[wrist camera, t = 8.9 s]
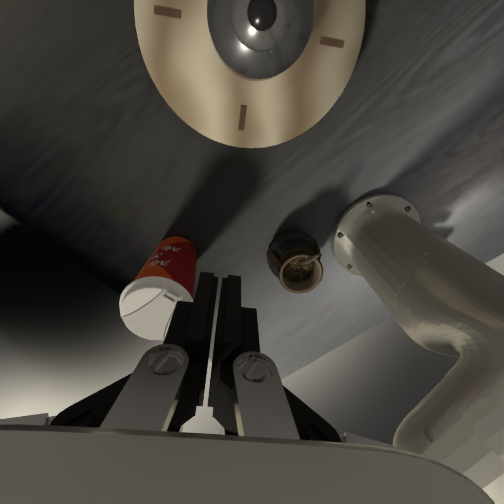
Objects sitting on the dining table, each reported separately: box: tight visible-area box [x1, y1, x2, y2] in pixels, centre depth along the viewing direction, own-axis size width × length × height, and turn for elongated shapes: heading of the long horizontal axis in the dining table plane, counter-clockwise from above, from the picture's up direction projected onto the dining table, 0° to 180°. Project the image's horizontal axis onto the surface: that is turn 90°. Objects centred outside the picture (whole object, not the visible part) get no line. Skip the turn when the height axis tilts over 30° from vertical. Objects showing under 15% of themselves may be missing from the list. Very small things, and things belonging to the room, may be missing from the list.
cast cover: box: [207, 0, 314, 81], centre depth 26 cm, size 9×9×5 cm
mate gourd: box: [267, 230, 323, 293], centre depth 39 cm, size 7×8×10 cm
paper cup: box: [119, 236, 197, 340], centre depth 36 cm, size 8×8×14 cm
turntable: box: [134, 0, 366, 148], centre depth 29 cm, size 22×22×2 cm
